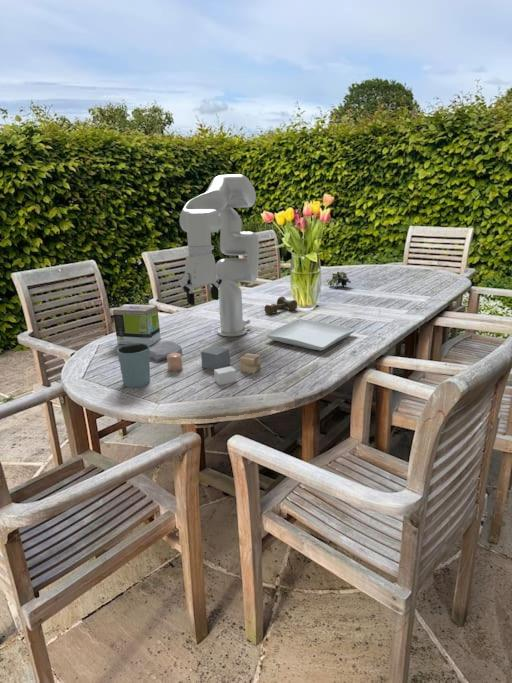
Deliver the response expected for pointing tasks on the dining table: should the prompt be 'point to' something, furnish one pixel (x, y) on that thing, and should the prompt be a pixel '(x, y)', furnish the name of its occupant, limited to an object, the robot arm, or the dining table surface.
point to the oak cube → (250, 363)
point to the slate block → (215, 357)
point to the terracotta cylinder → (174, 362)
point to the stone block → (164, 350)
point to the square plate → (310, 334)
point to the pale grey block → (225, 375)
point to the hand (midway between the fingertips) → (203, 301)
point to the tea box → (137, 324)
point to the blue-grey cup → (134, 364)
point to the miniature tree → (339, 279)
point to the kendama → (281, 305)
